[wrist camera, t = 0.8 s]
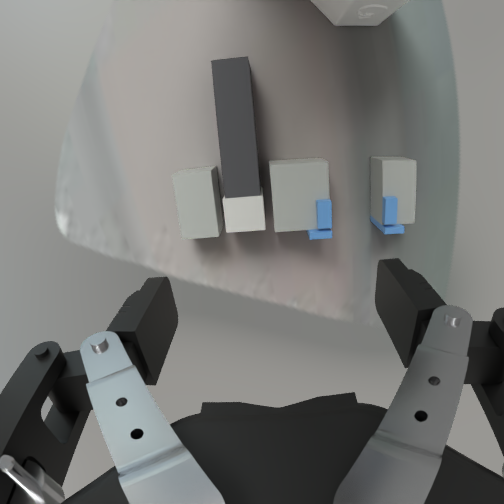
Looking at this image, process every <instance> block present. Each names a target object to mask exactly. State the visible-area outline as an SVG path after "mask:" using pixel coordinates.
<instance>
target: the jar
mask: <svg viewBox="0 0 504 504" xmlns="http://www.w3.org/2000/svg"><path fill="white" fill-rule="evenodd" d="M310 1H311V2H312V3H313V4H314V5H315V6H316V7H317V8H318V9H319V10H320V11H321V12H322V13H323V14H324V15H325V16H326V17H327V18H328V19H329V20H330V21H331V23H332V24H333V25H335V26H378V25H379V24H380V23H381V22H383V21H384V20H385V19H386V18H388V17H389V16H390V15H392V14H393V13H394V12H395V11H397V10H398V9H399V8H401V7H402V6H403V5H405V4H406V3H407V2H408V1H410V0H310Z"/></svg>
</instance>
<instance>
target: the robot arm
mask: <svg viewBox="0 0 504 504" xmlns="http://www.w3.org/2000/svg"><path fill="white" fill-rule="evenodd" d="M375 304H376V309H377V312H378V314H379V316H380V318H381V320H382V322H383V324H384V326H385V328H386V330H387V332H388V334H389V336H390V338H391V340H392V342H393V344H394V346H395V348H396V350H397V352H398V354H399V356H400V359H401V361H402V363H403V365H404V367H405V368H408V367H409V368H408V370H407V372H406V374H405V376H404V379H403V381H402V383H401V385H400V387H399V389H398V391H397V393H396V395H395V397H394V399H393V401H392V403H391V405H390V407H389V409H385V408H382V407H379V406H376V405H372V404H365V403H357V399H356V396H355V393H354V392H353V393H345V394H337V395H330V396H321V397H316V398H312V399H309V400H306V401H303V402H299V403H296V404H292V405H288V406H285V407H281V408H274V407H267V406H260V405H254V404H248V403H241V402H219V403H217V402H216V403H215V402H211V403H210V402H203V403H202V409H201V413H199V414H195V415H191V416H188V417H185V418H182V419H180V420H178V421H176V422H174V423H172V424H169V423H168V421H167V420H166V418H165V417H164V415H163V413H162V412H161V410H160V408H159V407H158V405H157V404H156V402H155V400H154V399H153V397H152V395H151V393H150V392H149V390H148V388H147V387H146V385H156V383H157V380H158V378H159V374H160V372H161V369H162V366H163V364H164V361H165V358H166V355H167V353H168V350H169V347H170V344H171V342H172V339H173V336H174V334H175V331H176V328H177V325H178V313H177V308H176V305H175V301H174V297H173V293H172V289H171V285H170V281H169V279H168V278H167V277H155V278H148V279H147V280H146V282H145V283H144V285H143V286H142V288H141V289H140V291H136V292H135V293H133V294H132V295H131V296H129V297H128V298H127V300H126V301H125V302H124V304H123V307H121V309H120V310H119V312H118V314H117V315H116V316H115V318H114V319H113V321H112V322H111V324H110V326H109V327H108V328H107V330H106V331H103V332H98V333H95V334H93V335H91V336H89V337H88V338H86V339H85V340H84V341H83V343H82V344H81V347H80V350H77V351H72V352H66V353H63V352H62V350H61V348H60V346H59V344H58V343H56V342H53V341H48V342H44V343H41V344H39V345H37V346H35V347H34V348H32V349H31V350H30V352H29V353H28V354H27V356H26V357H25V359H24V360H23V361H22V363H21V364H20V366H19V367H18V368H17V370H16V371H15V373H14V374H13V376H12V377H11V379H10V380H9V382H8V383H7V385H6V386H5V388H4V389H3V391H2V393H1V394H0V504H504V463H503V467H502V475H503V477H501V476H500V475H498V474H496V473H494V472H493V471H491V470H489V469H487V468H485V467H484V466H482V465H480V464H478V463H477V462H475V461H473V460H471V459H470V458H468V457H466V456H464V455H463V454H461V453H459V452H458V451H456V450H454V449H453V448H451V447H449V446H448V445H446V442H447V439H448V436H449V433H450V430H451V427H452V424H453V421H454V417H455V414H456V410H457V406H458V403H459V400H460V396H461V392H462V388H463V384H471V386H472V388H473V390H474V392H475V394H476V395H477V398H478V400H479V401H480V404H481V406H482V408H483V410H484V412H485V414H486V416H487V419H488V421H489V423H490V425H491V427H492V430H493V432H494V434H495V437H496V439H497V441H498V443H499V446H500V449H501V451H502V454H503V456H504V308H499V309H497V310H496V311H495V312H494V314H493V317H492V320H491V322H490V321H473V319H472V317H471V315H470V314H469V313H468V312H467V311H466V310H464V309H463V308H460V307H457V306H453V305H446V303H445V302H444V301H443V300H442V298H441V297H440V296H439V295H438V294H437V292H436V291H435V290H434V289H433V288H432V287H431V285H430V284H429V283H428V282H427V281H426V279H425V278H424V277H423V276H422V275H421V274H419V273H417V272H415V271H414V270H412V269H410V270H408V269H407V268H406V266H405V265H404V264H403V263H402V262H401V260H400V259H398V258H395V259H384V260H380V261H379V262H378V268H377V281H376V292H375ZM47 396H49V398H50V400H51V401H52V402H53V405H52V407H51V409H50V411H49V413H48V415H47V417H46V419H45V421H44V422H43V420H42V417H41V408H42V405H43V403H44V402H45V400H46V398H47ZM93 409H94V412H95V415H96V417H97V421H98V423H99V426H100V429H101V432H102V434H103V437H104V439H105V442H106V444H107V447H108V450H109V452H110V454H111V457H112V459H113V462H114V464H115V466H114V467H112V468H111V469H110V470H108V471H107V472H106V473H104V474H103V475H101V476H100V477H98V478H97V479H96V480H94V481H93V482H91V483H90V484H88V485H87V486H85V487H84V488H82V489H81V490H80V491H78V492H76V493H75V494H74V495H72V496H71V497H69V498H67V499H66V500H65V496H64V492H63V490H62V485H63V482H64V479H65V477H66V474H67V471H68V468H69V465H70V462H71V460H72V457H73V454H74V451H75V449H76V446H77V444H78V441H79V438H80V436H81V433H82V431H83V428H84V426H85V423H86V420H87V418H88V416H89V413H90V411H91V410H93Z"/></svg>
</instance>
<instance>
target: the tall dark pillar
mask: <svg viewBox="0 0 504 504" xmlns="http://www.w3.org/2000/svg"><path fill="white" fill-rule="evenodd" d="M211 62H212V74H213V85H214V95H215V106H216V116H217V126H218V136H219V146H220V156H221V165H222V175H223V184H224V193H225V196H224V198H223V208H224V217H225V225H226V233H231V232H244V231H258V230H265V208H264V195H263V187H261V184H260V172H259V161H258V149H257V138H256V126H255V115H254V104H253V94H252V83H251V72H250V64H249V60H248V57H238V58H229V59H221V60H213V61H211Z"/></svg>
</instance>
